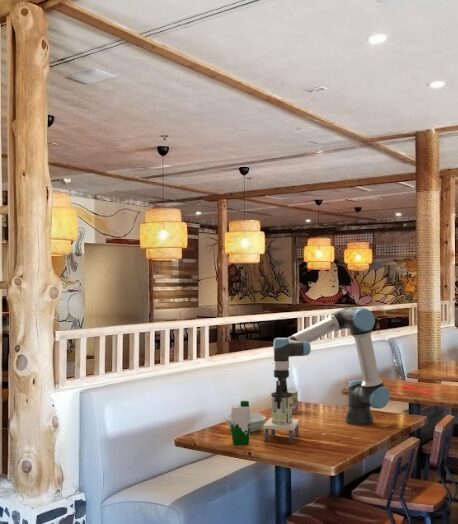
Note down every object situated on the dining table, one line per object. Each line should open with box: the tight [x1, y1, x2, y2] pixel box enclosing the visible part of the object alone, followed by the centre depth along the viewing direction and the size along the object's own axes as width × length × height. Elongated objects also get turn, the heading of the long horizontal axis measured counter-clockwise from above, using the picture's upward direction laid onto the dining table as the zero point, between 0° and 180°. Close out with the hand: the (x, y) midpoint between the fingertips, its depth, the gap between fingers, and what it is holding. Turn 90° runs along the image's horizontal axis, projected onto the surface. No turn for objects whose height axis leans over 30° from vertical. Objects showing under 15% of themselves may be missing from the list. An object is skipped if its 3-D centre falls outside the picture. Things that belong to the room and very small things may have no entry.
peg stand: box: [262, 417, 301, 445], centre depth 301 cm, size 15×18×8 cm
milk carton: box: [230, 400, 251, 446], centre depth 293 cm, size 9×9×20 cm
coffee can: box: [270, 391, 293, 424], centre depth 302 cm, size 10×10×14 cm
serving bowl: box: [225, 413, 267, 433], centre depth 319 cm, size 21×21×7 cm
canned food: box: [287, 389, 299, 414], centre depth 365 cm, size 11×11×12 cm
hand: (281, 412), depth 302 cm, fingers open, 13 cm apart
